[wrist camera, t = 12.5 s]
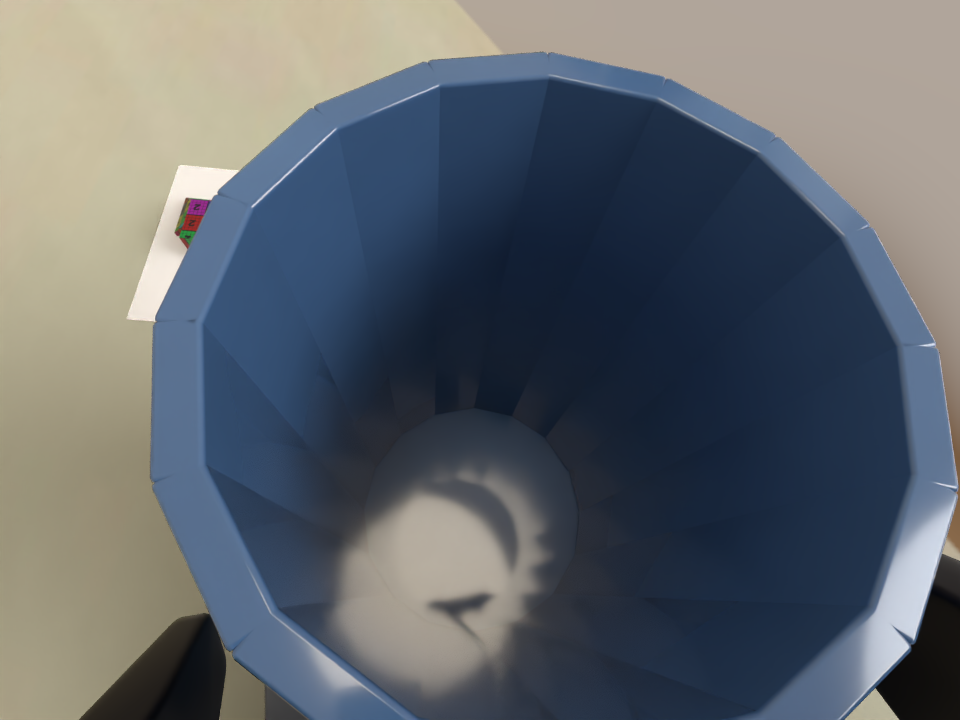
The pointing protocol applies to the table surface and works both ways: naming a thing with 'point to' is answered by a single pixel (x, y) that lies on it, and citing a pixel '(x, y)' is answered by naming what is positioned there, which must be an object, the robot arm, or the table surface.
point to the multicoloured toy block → (175, 234)
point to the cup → (548, 410)
